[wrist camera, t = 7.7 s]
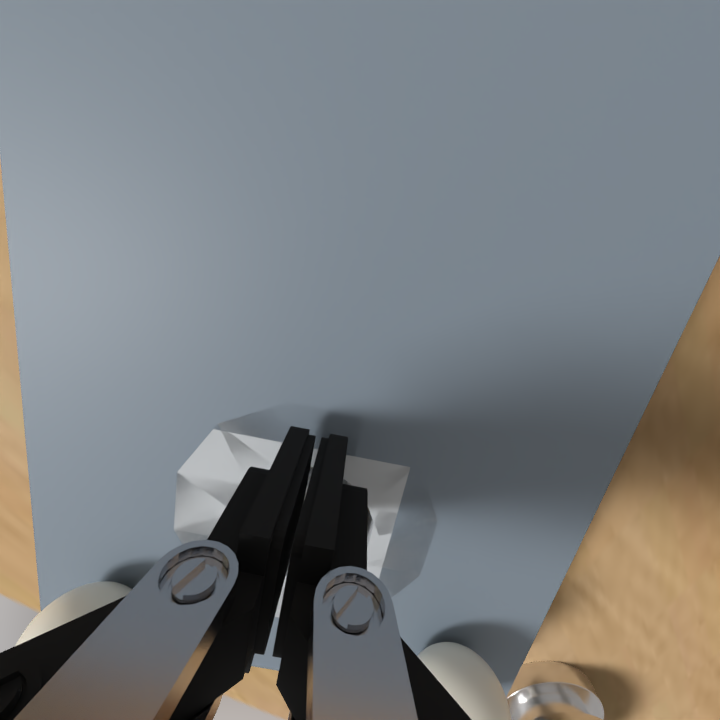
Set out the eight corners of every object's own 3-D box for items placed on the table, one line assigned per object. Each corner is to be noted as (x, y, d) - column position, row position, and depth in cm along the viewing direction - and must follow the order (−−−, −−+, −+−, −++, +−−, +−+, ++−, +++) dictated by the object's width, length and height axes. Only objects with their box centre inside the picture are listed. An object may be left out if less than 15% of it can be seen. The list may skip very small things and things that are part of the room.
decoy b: (502, 627, 12) (550, 760, 9) (474, 689, 13) (509, 831, 10) (410, 610, 12) (425, 739, 9) (389, 675, 13) (395, 813, 10)
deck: (73, -154, 9) (-42, -316, 6) (747, 8, 9) (882, -82, 7) (94, 571, 15) (42, 629, 13) (480, 641, 16) (500, 709, 13)
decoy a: (170, 567, 12) (94, 683, 9) (166, 636, 13) (97, 764, 10) (72, 549, 12) (-42, 660, 8) (76, 620, 13) (-25, 744, 9)
